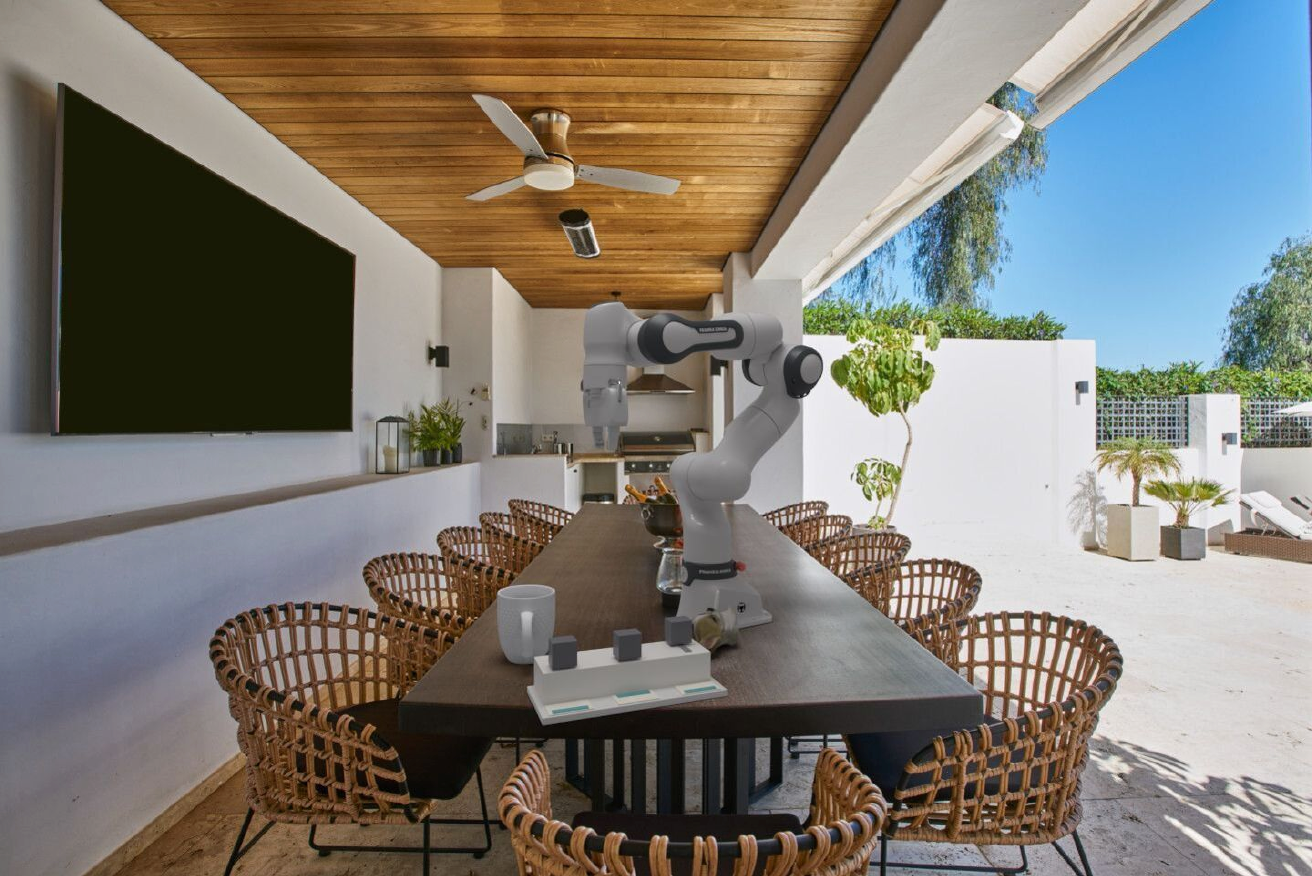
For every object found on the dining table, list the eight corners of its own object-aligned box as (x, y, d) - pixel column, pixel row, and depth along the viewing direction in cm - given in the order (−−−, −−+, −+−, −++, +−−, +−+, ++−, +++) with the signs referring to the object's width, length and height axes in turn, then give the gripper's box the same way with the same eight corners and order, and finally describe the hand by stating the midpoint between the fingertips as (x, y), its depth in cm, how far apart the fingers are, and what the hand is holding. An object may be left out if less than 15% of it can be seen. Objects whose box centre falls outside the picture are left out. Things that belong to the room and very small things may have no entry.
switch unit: (694, 668, 120) (695, 636, 120) (727, 695, 108) (727, 659, 108) (527, 692, 109) (527, 656, 109) (542, 725, 97) (543, 684, 97)
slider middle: (635, 651, 111) (635, 628, 111) (641, 657, 108) (641, 633, 108) (613, 654, 109) (613, 630, 109) (618, 660, 107) (618, 636, 106)
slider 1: (572, 659, 107) (572, 635, 107) (577, 665, 104) (577, 641, 104) (548, 662, 105) (548, 638, 105) (552, 669, 102) (552, 643, 102)
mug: (558, 674, 117) (559, 602, 117) (495, 679, 115) (496, 605, 114) (552, 647, 132) (553, 583, 131) (496, 651, 129) (497, 585, 129)
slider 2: (684, 637, 118) (685, 615, 118) (691, 642, 116) (691, 620, 116) (664, 640, 117) (664, 618, 117) (671, 645, 114) (671, 622, 114)
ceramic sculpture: (752, 605, 132) (698, 623, 123) (754, 647, 132) (700, 668, 123) (716, 595, 140) (662, 611, 131) (718, 634, 141) (664, 653, 131)
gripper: (636, 378, 123) (636, 450, 124) (606, 384, 143) (606, 447, 143) (604, 377, 121) (604, 451, 121) (578, 384, 140) (578, 448, 141)
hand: (605, 449), depth 132 cm, fingers open, 8 cm apart
